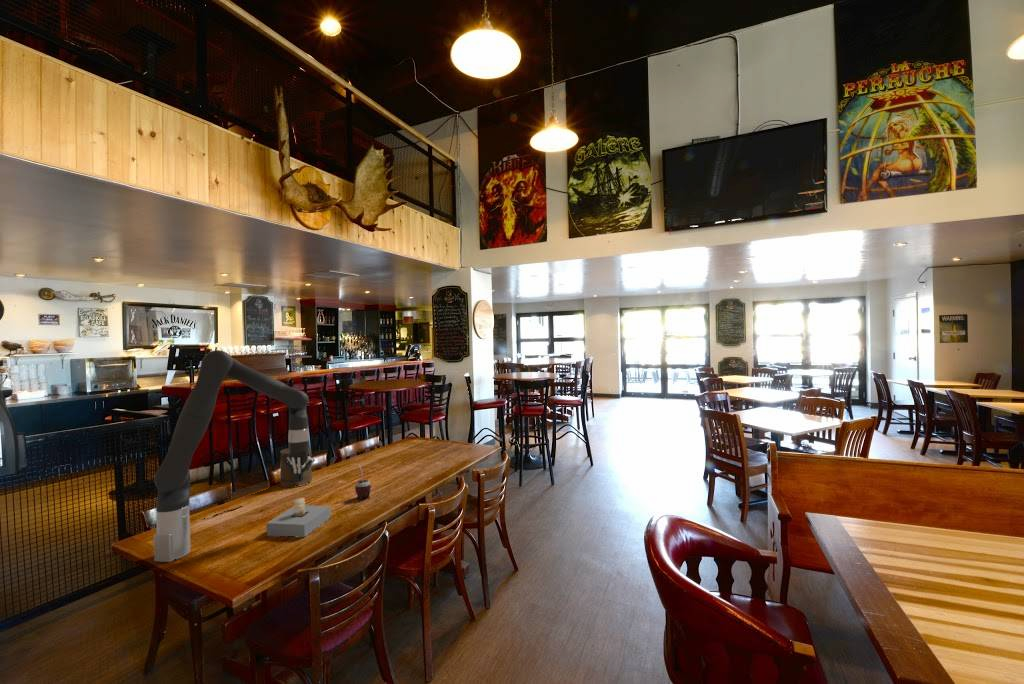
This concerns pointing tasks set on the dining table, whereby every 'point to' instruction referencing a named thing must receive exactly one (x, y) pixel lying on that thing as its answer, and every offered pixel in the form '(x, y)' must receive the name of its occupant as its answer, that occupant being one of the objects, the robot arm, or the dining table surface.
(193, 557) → the dining table surface
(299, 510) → the peg
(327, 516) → the socket block
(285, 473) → the wooden container
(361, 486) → the mate gourd
